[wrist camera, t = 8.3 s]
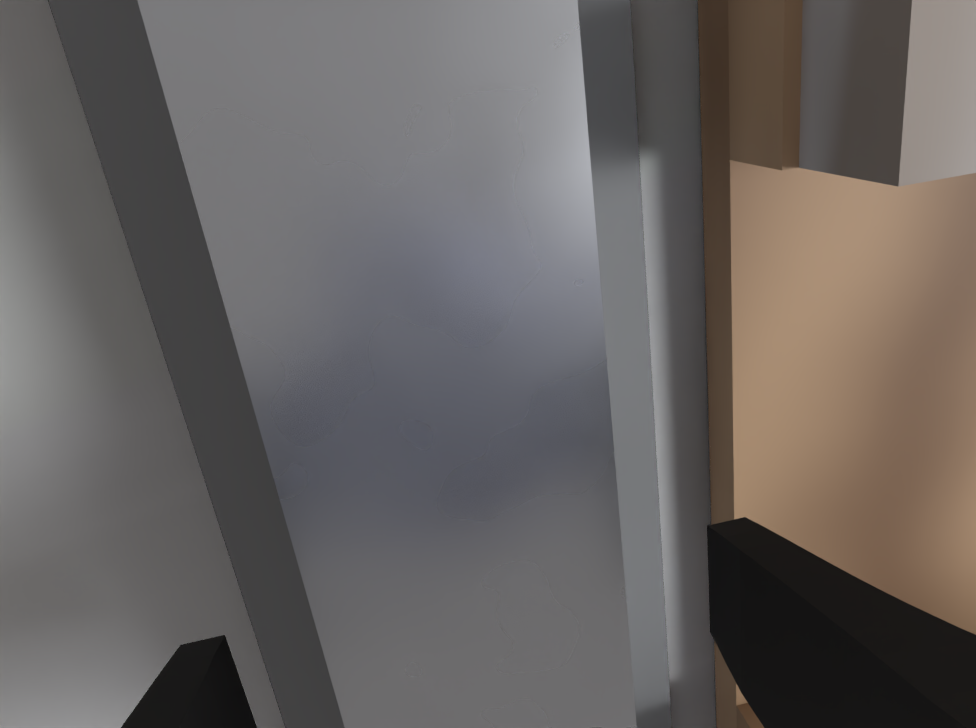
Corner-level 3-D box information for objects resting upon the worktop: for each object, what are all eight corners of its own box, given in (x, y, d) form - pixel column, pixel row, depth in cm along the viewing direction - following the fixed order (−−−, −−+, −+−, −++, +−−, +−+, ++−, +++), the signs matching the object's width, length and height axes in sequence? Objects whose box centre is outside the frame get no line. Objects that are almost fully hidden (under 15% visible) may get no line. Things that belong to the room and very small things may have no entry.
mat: (602, -305, 10) (612, -320, 10) (674, 867, 19) (680, 883, 19) (-22, -249, 9) (-39, -262, 9) (365, 955, 18) (365, 973, 18)
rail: (470, -214, 10) (545, -392, 6) (600, 878, 18) (665, 1082, 14) (159, -182, 9) (35, -355, 6) (439, 923, 18) (464, 1146, 14)
